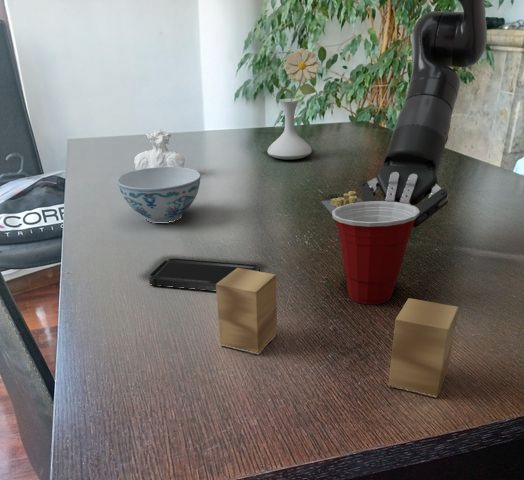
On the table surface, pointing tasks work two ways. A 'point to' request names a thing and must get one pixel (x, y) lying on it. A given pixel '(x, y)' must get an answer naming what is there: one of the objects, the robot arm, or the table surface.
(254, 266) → the phone
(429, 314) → the maple block
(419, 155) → the robot arm
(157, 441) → the table surface
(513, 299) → the table surface
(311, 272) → the table surface
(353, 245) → the plastic cup
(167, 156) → the bust
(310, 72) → the flower in vase
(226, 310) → the maple block
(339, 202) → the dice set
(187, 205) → the chinaware
